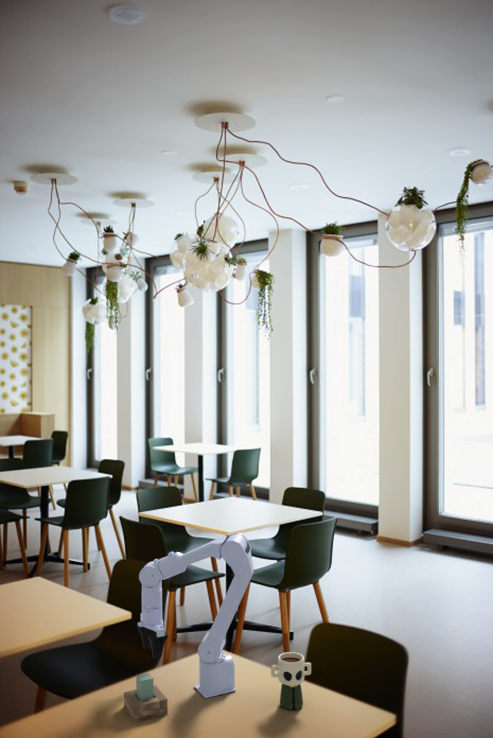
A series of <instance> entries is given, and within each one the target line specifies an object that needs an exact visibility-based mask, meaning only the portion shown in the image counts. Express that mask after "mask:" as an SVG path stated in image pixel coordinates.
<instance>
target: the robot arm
mask: <svg viewBox="0 0 493 738" xmlns="http://www.w3.org/2000/svg"><path fill="white" fill-rule="evenodd" d="M211 557H212V558H214V559H217V560H221V559H223V561H224V562H225V563H226V564H227V565H228V566H229V567H230V568H231V570H232V573H234V575H233V578H232V579H231V580H232V581H231V583H230V585H229V587H228V590H227V591H226V594H225V596H224V599H223V601H222V603H221V605H220V608H219V610H218V612H217V614H216V616H215V619H214V621H213V623H212V626H211V627H210V629H208V630H207V631H206V632H205V634H204V637H203V639H202V641H201V642H200V644H199V645H198V648H197V655H198V657H199V658H198V659H199V663H198V666H199V676H198V677H199V683H197V684H194V688H195V689H196V690H197V691H198V692H199V693H200V695H202V696H203V698H205V699H208V698H212V697H216V696H219V695H224V694H228V693H233V692H236V691H237V690H236V688H235V686H236V682H235V677H236V676H235V671H236V670H235V663H234V659H233V657H232V656H231V655H230V654H225V653H224V651H223V649H224V647H225V645H226V642H227V641H226V639H227V637H226V635H227V633H228V630H229V627H230V626H231V624H232V622H233V619H234V617H235V614H236V612H237V611H238V608H239V606H240V604H241V601H242V599H243V597H244V594H245V592H246V590H247V588H248V586H249V584H250V582H251V580H252V577H253V574H254V572H255V571H254V563H253V557H252V546H251V544H250V542H249V541H248V539H247V537H246V536H245V535H244V534H243V533H240V532H233V533H231V534H229V535H223V536H221V537H218V538H216V539H213V540H211V541H209V542H207V543H205V544H203V545H200V546H199V547H198V546H197V547H196V548H193V549H192V550H190V551H188V552H185V553H182V552H179V551H176V552H174V551H170V552H169V553H168V554H167V556H164V557H161V558H159V559H158V558H155V559H154V560H153V561H149V562H148V563H146V564H145V565H144V567H143V568H141V570H140V571H139V574H138V580H139V582H140V584H141V613H140V621H139V622H137V623H136V627H137V629H138V631H139V634H140V636H141V640H142V646H143V648H144V650H149V649H151V655H152V658H153V660H158V659H162V656H163V651H164V647H165V645H166V641H167V640H168V638H169V633H168V632H167V631H166V632H165V628H164V620H163V587H162V583H163V582H162V581H163V580H164V581H165V580H167V579H170V578H171V577H175V576H177V575H179V574H181V573H185V571H186V570H187V567H188V566H190V565H192V564H195V563H197V562H198V563H199V562H200V561H202V560H206V559H208V558H211Z"/></svg>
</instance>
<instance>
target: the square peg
mask: <svg viewBox="0 0 493 738" xmlns="http://www.w3.org/2000/svg"><path fill="white" fill-rule="evenodd" d="M135 678H136V679H135V683H136V685H135V686H136V688H135V690H136V694H137V698H138V700H139V701H143V700H147V699H152V698H154V690H153V686H154V677H153V676H152V674H150V673H149V672H148V673H143V674H138V675H136V677H135Z"/></svg>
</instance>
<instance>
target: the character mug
mask: <svg viewBox="0 0 493 738" xmlns="http://www.w3.org/2000/svg"><path fill="white" fill-rule="evenodd" d="M305 667H307V670H306V671H305ZM275 669H277V673H275V672H276V671H275ZM311 674H312V663H311V662H305V657H304V655H303V654H302V653H299V652H294V651H287V652H283V653H281V654H279V655H278V657H277V664H272V665H270V676H271V678H277V679H278V682H280V683H281V688H280V696H279V697H280V698H279V705H280V706H281V707H282V708H285V709H287V710H288V709H289V710H292V709H293V706H294V708H295V709H297V710H298V709H300V708H301V707H303V705H304V699H303V691H302V685H301V684H302V683H304V680H305V676H310V675H311Z"/></svg>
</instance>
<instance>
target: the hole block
mask: <svg viewBox="0 0 493 738" xmlns="http://www.w3.org/2000/svg"><path fill="white" fill-rule="evenodd" d="M153 690H154V698H152V699H147V700H143V701H139V700H138V698H137V694H136V689H132V690H129V691H128V690H127V691H124V692H123V708H124V710H125V711H126V712H127V714H128V715H129V717H130V718H131V719H132V721H133V722H134V723H138V722H141V721H145V720H149V719H154V718H157V717H161V716H166V715H168V711H169V710H168V708H169V707H168V703H169V701H168V698H167V697H166V696H165V694H164V693H163V691H161V689H160V688H159V687H158V686H157V684H153Z"/></svg>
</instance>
